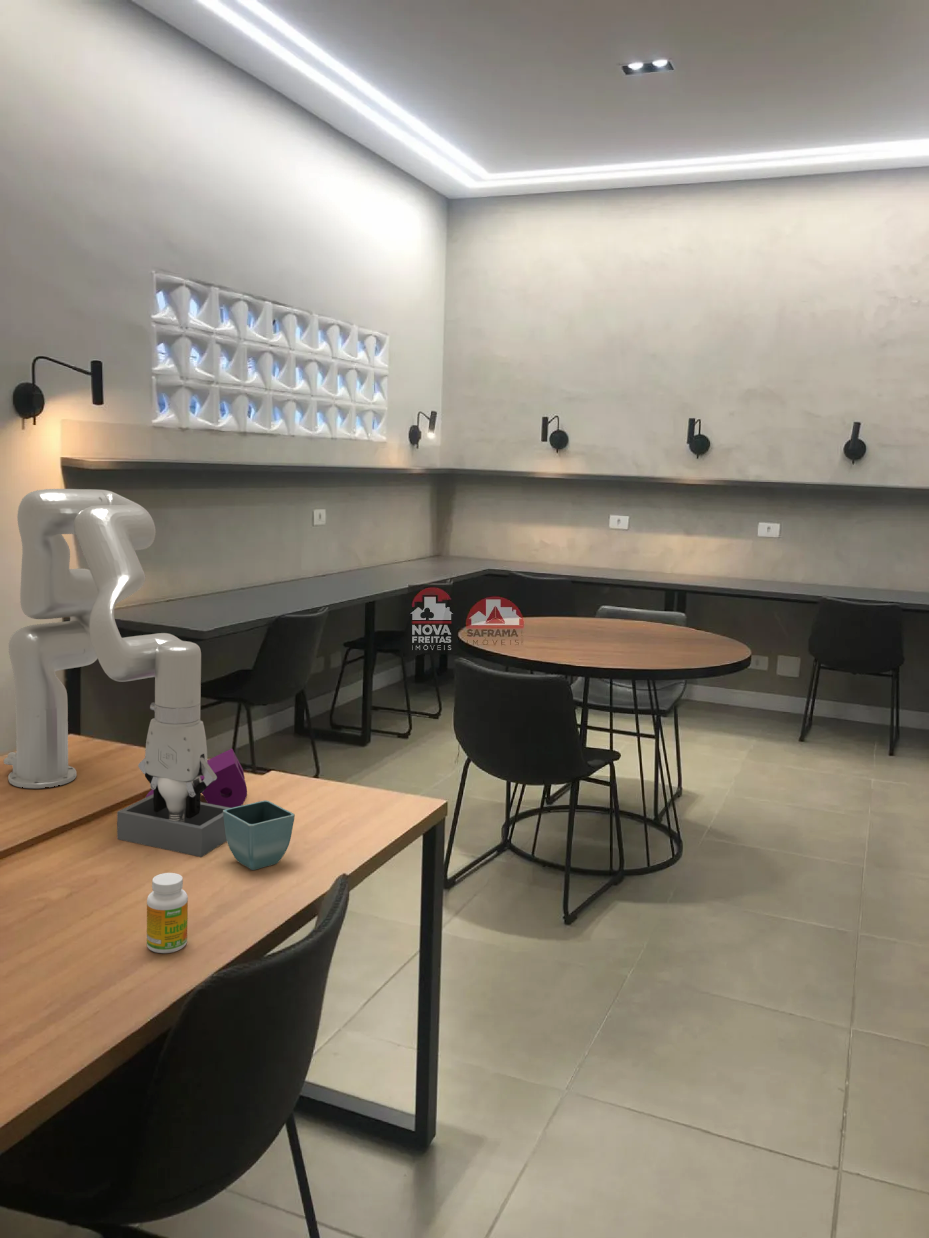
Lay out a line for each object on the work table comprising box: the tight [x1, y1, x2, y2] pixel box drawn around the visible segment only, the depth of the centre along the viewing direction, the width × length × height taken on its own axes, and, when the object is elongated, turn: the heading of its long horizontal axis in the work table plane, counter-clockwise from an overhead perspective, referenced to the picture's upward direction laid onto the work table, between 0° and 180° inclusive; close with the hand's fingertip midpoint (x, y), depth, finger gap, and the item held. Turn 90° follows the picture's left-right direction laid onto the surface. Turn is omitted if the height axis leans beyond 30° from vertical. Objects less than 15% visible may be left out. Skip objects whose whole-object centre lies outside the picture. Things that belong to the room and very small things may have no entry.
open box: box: [116, 794, 229, 858], centre depth 171 cm, size 17×10×5 cm, turn 71°
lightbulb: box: [158, 778, 195, 823], centre depth 170 cm, size 6×6×11 cm
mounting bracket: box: [145, 748, 248, 808], centre depth 188 cm, size 9×8×18 cm
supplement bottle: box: [146, 872, 189, 954], centre depth 134 cm, size 5×5×10 cm
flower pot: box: [223, 800, 296, 871], centre depth 162 cm, size 9×9×9 cm
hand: (176, 811), depth 171 cm, fingers closed on lightbulb, 5 cm apart
